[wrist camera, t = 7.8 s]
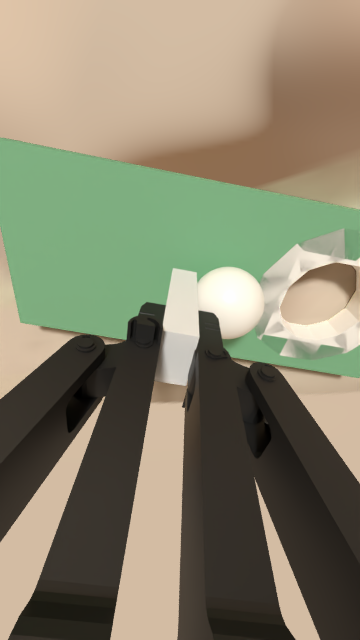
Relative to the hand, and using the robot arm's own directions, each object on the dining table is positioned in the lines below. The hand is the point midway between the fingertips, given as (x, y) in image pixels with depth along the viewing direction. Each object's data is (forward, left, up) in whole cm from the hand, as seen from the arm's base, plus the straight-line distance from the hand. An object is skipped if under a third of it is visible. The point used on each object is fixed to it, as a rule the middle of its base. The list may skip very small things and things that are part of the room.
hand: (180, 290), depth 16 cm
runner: (0, +2, -4) cm, 4 cm away
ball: (0, +3, 0) cm, 3 cm away
